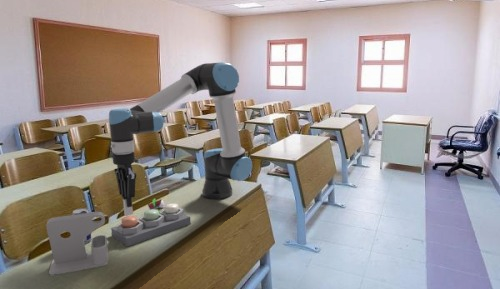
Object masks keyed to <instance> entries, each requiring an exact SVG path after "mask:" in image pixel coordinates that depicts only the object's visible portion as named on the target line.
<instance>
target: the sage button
mask: <svg viewBox="0 0 500 289" xmlns="http://www.w3.org/2000/svg"><path fill="white" fill-rule="evenodd" d="M143 216H144V219H145V220H147V221H152V220H156V219H158V218H159V211H158V210H155V209H152V210H150V209H148V210H144V212H143Z"/></svg>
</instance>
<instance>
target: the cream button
mask: <svg viewBox="0 0 500 289" xmlns="http://www.w3.org/2000/svg"><path fill="white" fill-rule="evenodd" d="M178 207H179V204H178V203H167V204H165V206H164V208H163V209H164V210H165V213H166V214H175V213H177V212H178V211H179V208H180V207H179V208H178Z"/></svg>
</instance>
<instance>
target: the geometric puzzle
mask: <svg viewBox="0 0 500 289" xmlns="http://www.w3.org/2000/svg"><path fill="white" fill-rule="evenodd" d="M165 205H166V203H165V201H164V200H163V199H161V198H159V199H158V200H157V198H156V197H154V198H153V199H152V200H151V201H150V203H147V207H148V208H149V210H152V209H155V210H158V211H159V213H160V212H161V211H162V210H163V209H164V206H165Z"/></svg>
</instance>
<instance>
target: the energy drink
mask: <svg viewBox="0 0 500 289" xmlns="http://www.w3.org/2000/svg"><path fill="white" fill-rule="evenodd" d="M83 213H90V212H89V209H88V208H85V207H83V208H82V207H80V208H76V209H74V210H72V213H71V215H76V214H83ZM90 242H92V233H91V234H89V235H88V236H86V237H85V238H84V243H85V245H86V244H88V243H90Z"/></svg>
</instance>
